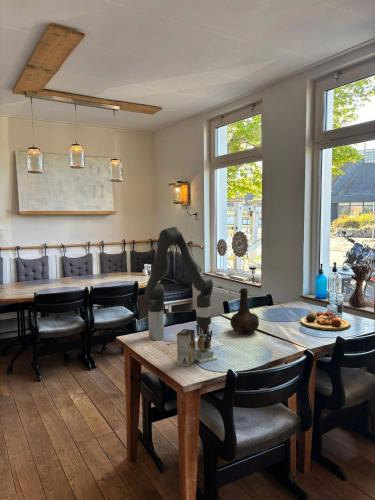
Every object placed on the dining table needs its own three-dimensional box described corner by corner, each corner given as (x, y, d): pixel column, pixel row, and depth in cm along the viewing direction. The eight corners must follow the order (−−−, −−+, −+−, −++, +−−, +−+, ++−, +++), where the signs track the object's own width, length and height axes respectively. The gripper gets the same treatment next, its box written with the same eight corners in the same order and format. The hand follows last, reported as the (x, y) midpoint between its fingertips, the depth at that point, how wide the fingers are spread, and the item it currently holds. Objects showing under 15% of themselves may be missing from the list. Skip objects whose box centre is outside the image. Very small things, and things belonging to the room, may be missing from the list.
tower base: (191, 356, 200) (191, 349, 200) (208, 353, 205) (208, 346, 204) (200, 362, 191) (200, 355, 191) (217, 359, 196) (217, 351, 195)
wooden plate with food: (358, 331, 239) (358, 318, 239) (307, 331, 240) (308, 318, 239) (339, 318, 271) (339, 307, 270) (294, 318, 272) (294, 307, 271)
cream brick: (192, 347, 214) (192, 338, 214) (200, 345, 217) (200, 337, 216) (196, 350, 210) (196, 341, 209) (204, 348, 212) (204, 339, 212)
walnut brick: (197, 347, 199) (197, 338, 198) (206, 346, 201) (206, 336, 200) (202, 350, 194) (201, 341, 194) (210, 349, 196) (210, 339, 196)
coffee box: (184, 358, 198) (183, 328, 196) (195, 360, 195) (195, 329, 194) (177, 365, 189) (176, 333, 188) (189, 366, 187) (188, 335, 185)
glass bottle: (258, 337, 230) (258, 291, 227) (229, 335, 234) (228, 291, 231) (259, 328, 247) (259, 286, 245) (231, 327, 251) (231, 285, 248)
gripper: (191, 312, 201) (191, 343, 202) (203, 319, 188) (204, 352, 189) (203, 310, 204) (204, 341, 205) (216, 317, 191) (217, 349, 193)
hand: (204, 346), depth 197 cm, fingers closed on walnut brick, 4 cm apart
